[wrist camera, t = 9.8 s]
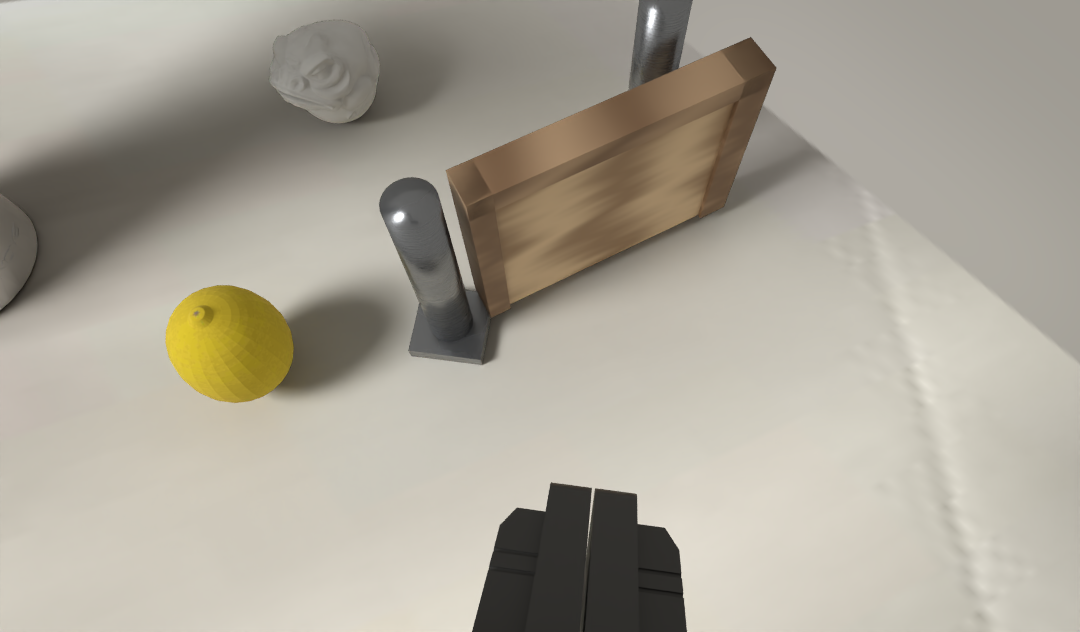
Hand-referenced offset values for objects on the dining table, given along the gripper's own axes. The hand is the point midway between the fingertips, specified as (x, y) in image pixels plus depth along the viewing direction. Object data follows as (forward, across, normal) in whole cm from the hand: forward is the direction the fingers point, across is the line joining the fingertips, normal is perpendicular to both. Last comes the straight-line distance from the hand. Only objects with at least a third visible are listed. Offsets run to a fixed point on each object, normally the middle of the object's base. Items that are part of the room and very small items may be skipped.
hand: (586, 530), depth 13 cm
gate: (+30, 0, +4) cm, 30 cm away
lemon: (+24, +18, +11) cm, 32 cm away
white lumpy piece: (+37, +18, -2) cm, 41 cm away
